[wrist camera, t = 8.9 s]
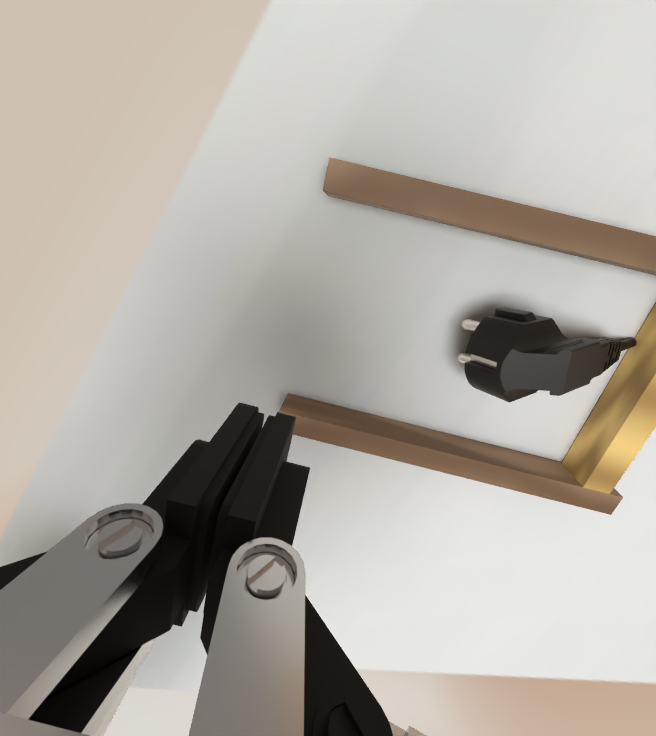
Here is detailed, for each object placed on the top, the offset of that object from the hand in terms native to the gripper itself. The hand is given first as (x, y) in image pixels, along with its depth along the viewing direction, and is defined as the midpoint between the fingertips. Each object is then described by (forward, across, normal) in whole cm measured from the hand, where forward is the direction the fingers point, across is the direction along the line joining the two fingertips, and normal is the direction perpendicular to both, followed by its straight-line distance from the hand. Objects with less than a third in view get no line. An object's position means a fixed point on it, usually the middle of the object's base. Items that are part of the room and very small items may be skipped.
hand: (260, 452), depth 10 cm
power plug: (+17, -16, -2) cm, 23 cm away
